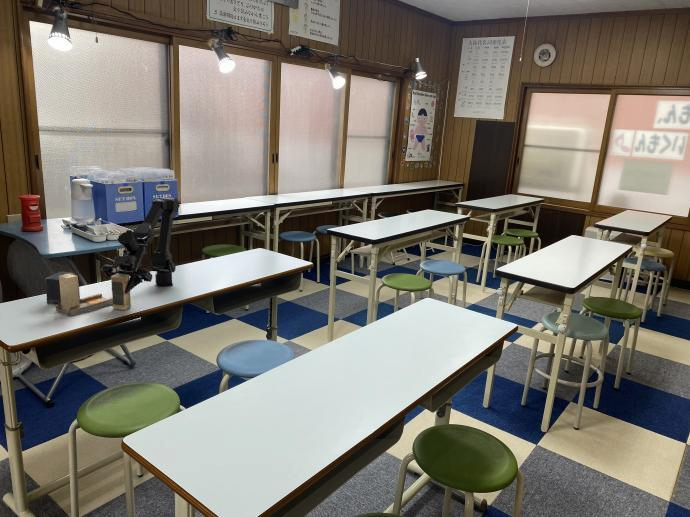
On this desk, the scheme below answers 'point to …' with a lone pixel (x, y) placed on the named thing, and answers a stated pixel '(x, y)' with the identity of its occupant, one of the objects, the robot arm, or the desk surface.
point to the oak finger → (120, 291)
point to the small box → (54, 288)
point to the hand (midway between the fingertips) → (119, 292)
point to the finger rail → (77, 297)
